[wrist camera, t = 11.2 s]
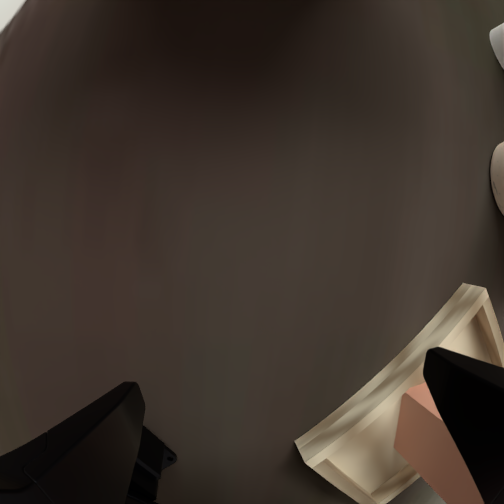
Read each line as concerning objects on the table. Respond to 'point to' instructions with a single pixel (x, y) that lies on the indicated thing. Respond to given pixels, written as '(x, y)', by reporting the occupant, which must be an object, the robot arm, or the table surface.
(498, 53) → the base with upright slab
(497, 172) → the teacup with lid
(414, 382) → the tray
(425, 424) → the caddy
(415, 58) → the table surface
